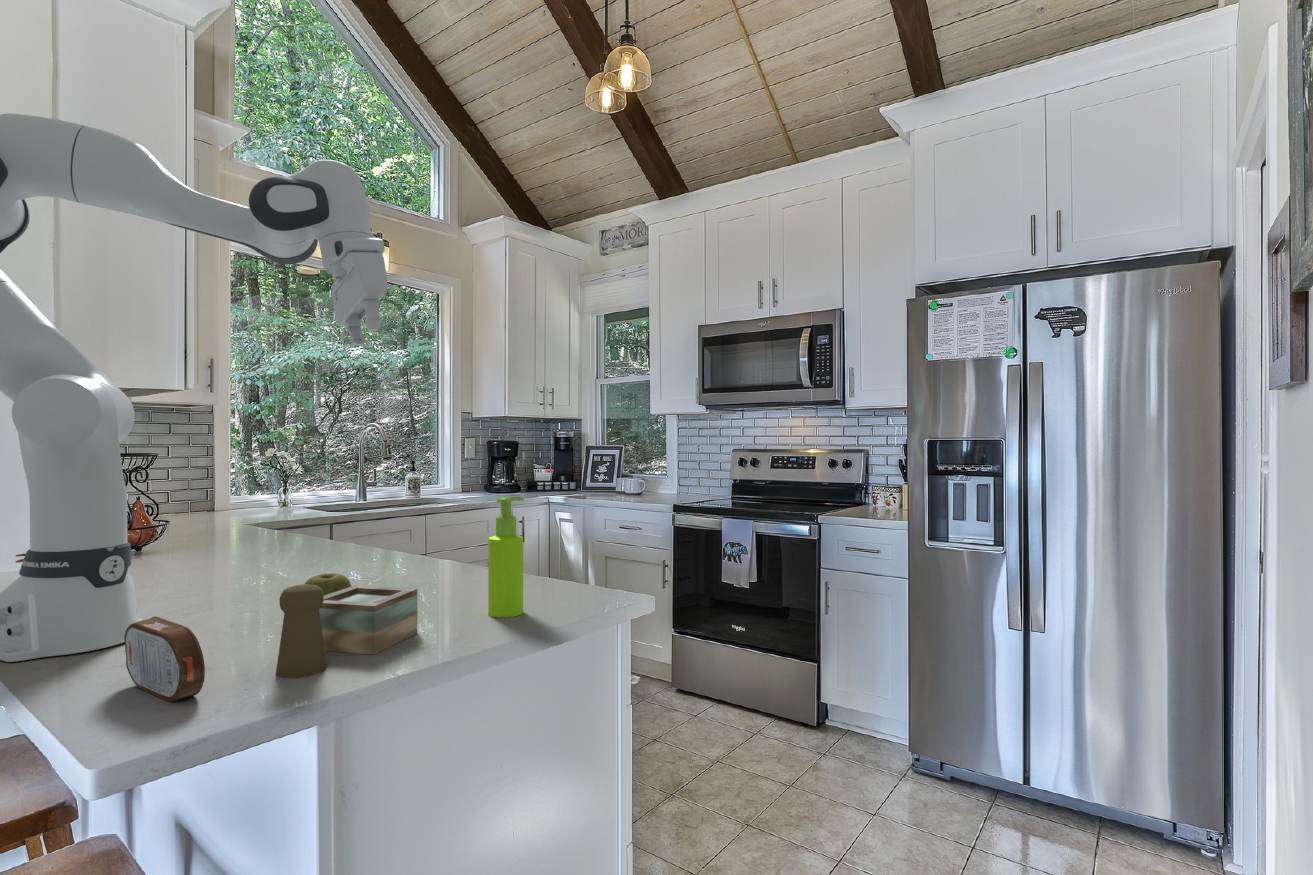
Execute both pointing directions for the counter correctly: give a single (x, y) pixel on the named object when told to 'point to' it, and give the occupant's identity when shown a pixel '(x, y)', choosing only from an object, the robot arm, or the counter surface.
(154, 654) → the tin
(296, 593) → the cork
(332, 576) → the apple
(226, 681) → the counter surface
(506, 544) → the soap dispenser
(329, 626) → the brown wooden square box
